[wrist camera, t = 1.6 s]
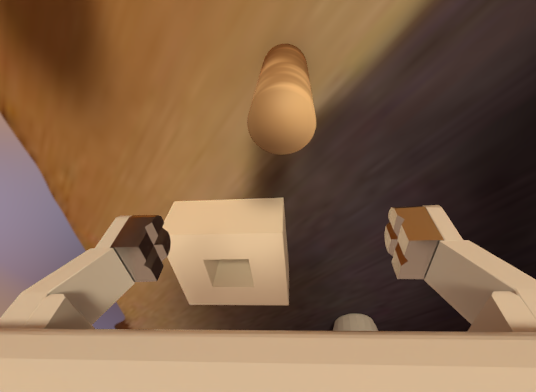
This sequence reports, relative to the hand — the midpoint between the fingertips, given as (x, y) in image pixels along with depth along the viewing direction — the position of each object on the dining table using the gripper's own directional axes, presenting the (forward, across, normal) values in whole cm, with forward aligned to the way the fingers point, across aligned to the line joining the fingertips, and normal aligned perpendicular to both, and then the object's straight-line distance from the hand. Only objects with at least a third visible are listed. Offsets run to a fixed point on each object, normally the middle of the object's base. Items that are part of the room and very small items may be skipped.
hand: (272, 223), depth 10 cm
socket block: (+20, +8, +22) cm, 31 cm away
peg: (+20, 0, 0) cm, 20 cm away
